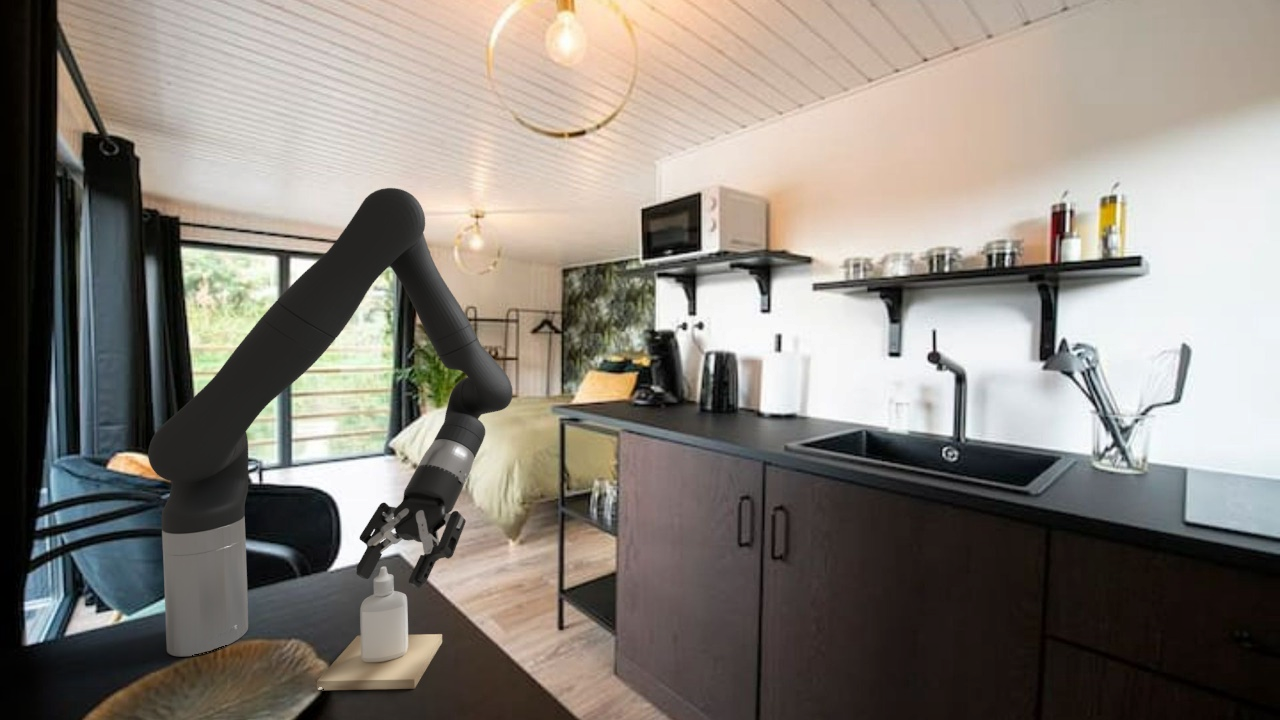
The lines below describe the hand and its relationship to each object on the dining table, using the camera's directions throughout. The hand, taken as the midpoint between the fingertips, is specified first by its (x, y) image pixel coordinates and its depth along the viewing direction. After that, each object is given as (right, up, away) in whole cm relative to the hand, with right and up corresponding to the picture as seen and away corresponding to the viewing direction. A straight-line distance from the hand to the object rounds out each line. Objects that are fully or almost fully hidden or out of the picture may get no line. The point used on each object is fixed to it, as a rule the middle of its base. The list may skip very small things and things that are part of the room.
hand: (387, 581), depth 71 cm
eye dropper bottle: (0, -10, 0) cm, 10 cm away
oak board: (0, -11, 0) cm, 11 cm away
